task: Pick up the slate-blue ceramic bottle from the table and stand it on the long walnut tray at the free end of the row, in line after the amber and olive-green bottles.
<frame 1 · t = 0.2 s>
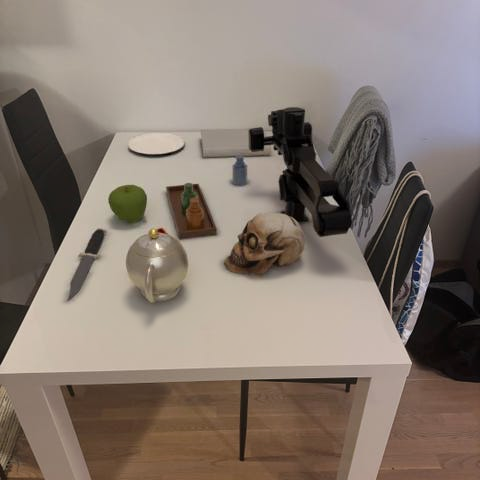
hand: (271, 128, 145), 17 cm above the table, tool horizontal, fingers open, 9 cm apart
teapot: (159, 296, 109), on the table
green bottle: (190, 212, 138), point 1 cm above the table, touching tray
skull: (263, 262, 120), on the table
knife: (86, 265, 119), on the table
book: (234, 148, 177), on the table
plate: (156, 147, 177), on the table
amber bottle: (195, 228, 131), point 1 cm above the table, touching tray
apple: (131, 220, 136), on the table
blue bottle: (239, 182, 155), on the table
tray: (189, 212, 139), on the table
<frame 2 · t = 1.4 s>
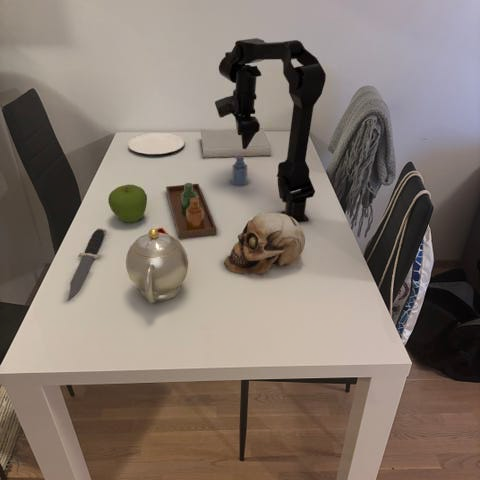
hand: (241, 141, 146), 13 cm above the table, tool pointing down, fingers open, 9 cm apart
nothing on the table moved.
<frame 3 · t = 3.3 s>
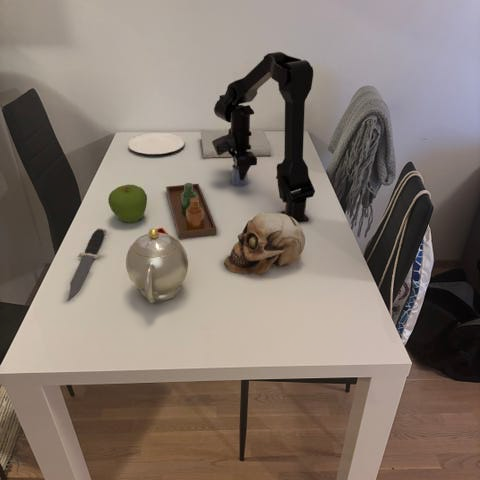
hand: (239, 176, 153), 2 cm above the table, tool pointing down, fingers closed on blue bottle, 5 cm apart
blue bottle: (239, 182, 155), on the table, touching gripper
everything else where it was.
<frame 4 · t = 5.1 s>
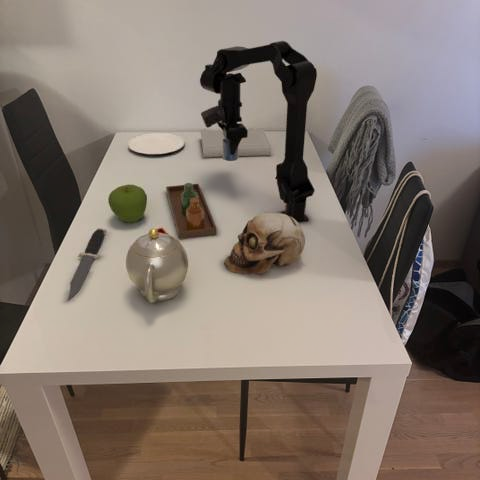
hand: (230, 151, 146), 11 cm above the table, tool pointing down, fingers closed on blue bottle, 5 cm apart
blue bottle: (230, 158, 147), point 9 cm above the table, touching gripper
everything else where it was.
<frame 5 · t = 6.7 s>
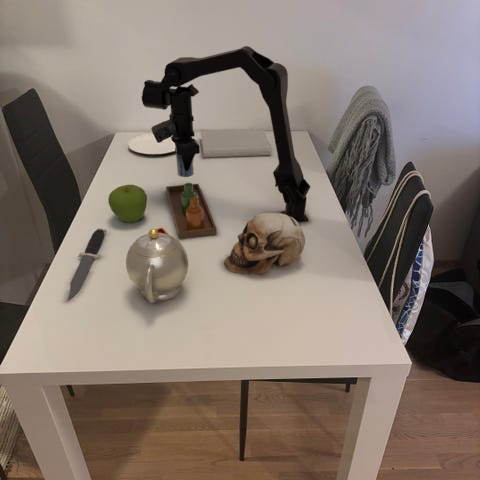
hand: (185, 166, 139), 10 cm above the table, tool pointing down, fingers closed on blue bottle, 5 cm apart
blue bottle: (185, 173, 140), point 8 cm above the table, touching gripper
everything else where it was.
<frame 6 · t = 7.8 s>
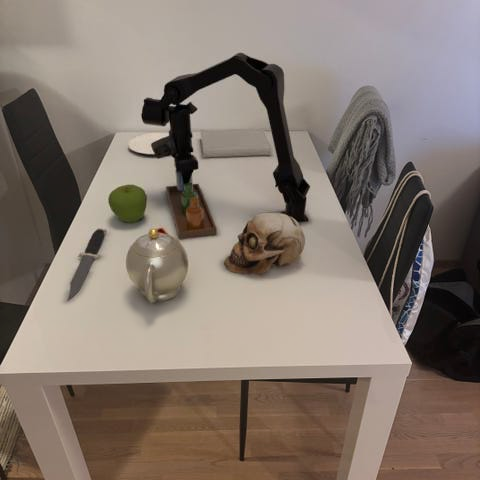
hand: (184, 181, 142), 6 cm above the table, tool pointing down, fingers closed on blue bottle, 5 cm apart
blue bottle: (184, 187, 143), point 4 cm above the table, touching gripper
everything else where it was.
when the fingers open (3 cm above the table, at t = 9.2 s): blue bottle stays where it is, resting on tray.
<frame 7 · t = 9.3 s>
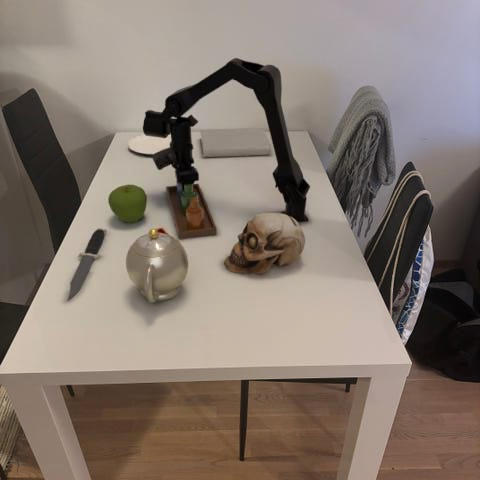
hand: (185, 191, 144), 3 cm above the table, tool pointing down, fingers open, 5 cm apart
blue bottle: (185, 197, 145), point 1 cm above the table, touching tray
everything else where it was.
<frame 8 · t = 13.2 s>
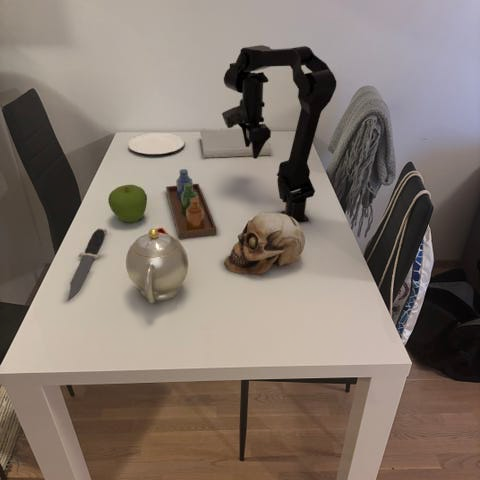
hand: (251, 152, 143), 12 cm above the table, tool pointing down, fingers open, 9 cm apart
nothing on the table moved.
at the end: blue bottle 0.0 cm from the target spot in the tray, point 0.6 cm above the tray's base; blue bottle tilted 0°; amber bottle moved 0.0 cm from its start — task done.
